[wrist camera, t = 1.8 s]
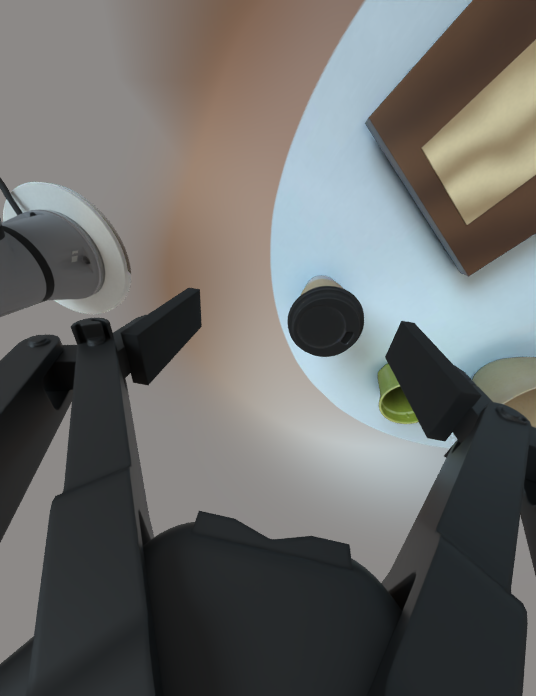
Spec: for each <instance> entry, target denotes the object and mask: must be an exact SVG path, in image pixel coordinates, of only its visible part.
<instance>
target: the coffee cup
mask: <svg viewBox="0 0 536 696" xmlns="http://www.w3.org/2000/svg"><path fill="white" fill-rule="evenodd" d="M363 326H364V313H363V309H362V306H361V304H360V302H359V301H358V299H357V298H356V297H355V296H354V295H353V294H351V293H350V292H349V291H347V290H345V289H343V288H342V287H341V286H340V285H339V284H338V283H336V282H335V281H334V280H333V279H332V278H330V277H327V276H322V275H321V276H315V277H313V278H312V279H311V280H309V282H308V283H307V284H306V286H305V288H304V290H303V291H302V293H301V296H300V297H299V298H298V299H297V300H296V301H295V302H294V303H293V305H292V307H291V309H290V311H289V315H288V329H289V333H290V336H291V338H292V340H293V341H294V342H295V344H296V345H297V346H298V347H299V348H301V349H302V350H304V351H305V352H307V353H310V354H312V355H315V356H320V357H329V356H335V355H338V354H340V353H342V352H344V351H346V350H347V349H348V348H350V347H351V346H352V345H353V344H354V343H355V342H356V341H357V340H358V338H359V337H360V335H361V332H362V330H363Z"/></svg>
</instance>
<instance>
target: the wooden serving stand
mask: <svg viewBox="0 0 536 696" xmlns="http://www.w3.org/2000/svg"><path fill="white" fill-rule="evenodd" d="M365 124H366V126H367V127H368V129H369V130H370V132H371V133H372V135H373V137H374V138H375V140H376V141H377V143H378V144H379V146H380V148H381V149H382V151H383V152H384V154H385V155H386V157H387V159H388V160H389V162H390V163H391V165H392V166H393V168H394V169H395V171H396V173H397V174H398V176H399V177H400V179H401V180H402V182H403V184H404V185H405V187H406V188H407V190H408V191H409V193H410V195H411V196H412V198H413V199H414V201H415V202H416V204H417V206H418V207H419V209H420V210H421V212H422V213H423V215H424V216H425V218H426V220H427V221H428V223H429V224H430V226H431V227H432V229H433V231H434V232H435V234H436V235H437V237H438V238H439V240H440V242H441V243H442V245H443V246H444V248H445V249H446V251H447V253H448V254H449V256H450V257H451V259H452V260H453V262H454V263H455V265H456V267H457V268H458V270H459V271H460V273H462V274H464V275H467V276H470V275H471V274H473V273H474V272H476V271H478V270H479V269H481V268H482V267H484V266H485V265H487V264H489V263H490V262H492V261H493V260H495V259H496V258H498V257H499V256H501V255H503V254H504V253H506V252H507V251H509V250H510V249H512V248H514V247H515V246H517V245H518V244H520V243H521V242H523V241H524V240H526V239H528V238H529V237H531V236H532V235H534V234H535V233H536V0H473V1H472V2H471V3H470V4H469V5H468V6H467V7H466V9H465V10H464V11H463V12H462V13H461V14H460V15H459V16H458V18H457V19H456V20H455V21H454V22H453V23H452V24H451V25H450V27H449V28H448V29H447V30H446V31H445V32H444V33H443V34H442V36H441V37H440V38H439V39H438V40H437V41H436V42H435V43H434V45H433V46H432V47H431V48H430V49H429V50H428V51H427V52H426V54H425V55H424V56H423V57H422V58H421V59H420V60H419V61H418V63H417V64H416V65H415V66H414V67H413V68H412V69H411V70H410V72H409V73H408V74H407V75H406V76H405V77H404V78H403V80H402V81H401V82H400V83H399V84H398V85H397V86H396V87H395V89H394V90H393V91H392V92H391V93H390V94H389V95H388V96H387V98H386V99H385V100H384V101H383V102H382V103H381V104H380V105H379V107H378V108H377V109H376V110H375V111H374V112H373V113H372V114H371V116H370V117H369V118H368V120H367V121H366V123H365Z"/></svg>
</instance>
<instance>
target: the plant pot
mask: <svg viewBox="0 0 536 696" xmlns="http://www.w3.org/2000/svg"><path fill="white" fill-rule="evenodd" d="M378 383H379V388H380V395H381V396H380V400H379V409H380V412H381V414H382V415H383V416H384V417H385V418H387V419H388V420H390V421H392V422H395V423H400V424H412V423H417V422H419V421H418V419H417V417H416V415H415V413H414V412H413V410H412V408H411V406H410V404H409V402H408V400H407V398H406V396H405V394H404V392H403V390H402V389H401V387H400V385H399V383H398V381H397V379H396V377H395V375H394V373H393V371H392V369H391V368H390V366H389V364H386V365H385V366H384V367H383V368H382V369H381V370H379V372H378Z"/></svg>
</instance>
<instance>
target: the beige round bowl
mask: <svg viewBox="0 0 536 696" xmlns="http://www.w3.org/2000/svg"><path fill="white" fill-rule="evenodd" d="M472 381H473V382H474V383H475V384H476V386H478V387H479V388H480V389H481V390H482V391H483V392H484V393H485V394H486V395H487V396H488V397H489V398H490V399H491V400H492V401H493V402H496V403H500V404H504V405H506V406H509V407H511V408H513V409H515V410H516V411H518V412H520V413H521V414H522V415H524V416H525V417H526V418H527V419H528V420H529V421H530V423H531V426H532V427H535V428H536V357H514V358H505V359H499V360H496V361H493V362H490V363H488V364H487V365H485V366H483V367H482V368H481V369H480V370H479V371H478V372H477V373H476V374H475V375H474V377H473V379H472Z"/></svg>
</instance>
